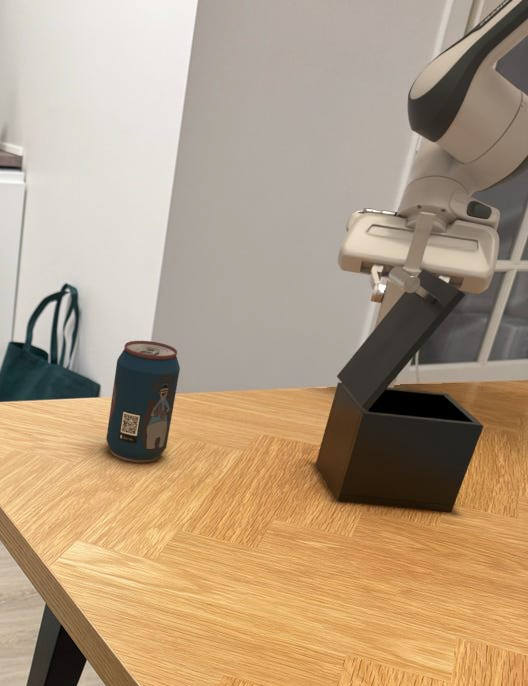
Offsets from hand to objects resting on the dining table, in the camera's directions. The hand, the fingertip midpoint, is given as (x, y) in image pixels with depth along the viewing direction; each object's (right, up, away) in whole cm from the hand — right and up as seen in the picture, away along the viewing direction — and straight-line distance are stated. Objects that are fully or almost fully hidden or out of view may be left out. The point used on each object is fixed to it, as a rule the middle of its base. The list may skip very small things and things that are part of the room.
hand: (400, 304), depth 120 cm
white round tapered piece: (-1, -11, +8) cm, 14 cm away
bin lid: (-11, -14, -28) cm, 33 cm away
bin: (-10, -28, -19) cm, 35 cm away
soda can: (-38, -24, -17) cm, 48 cm away
